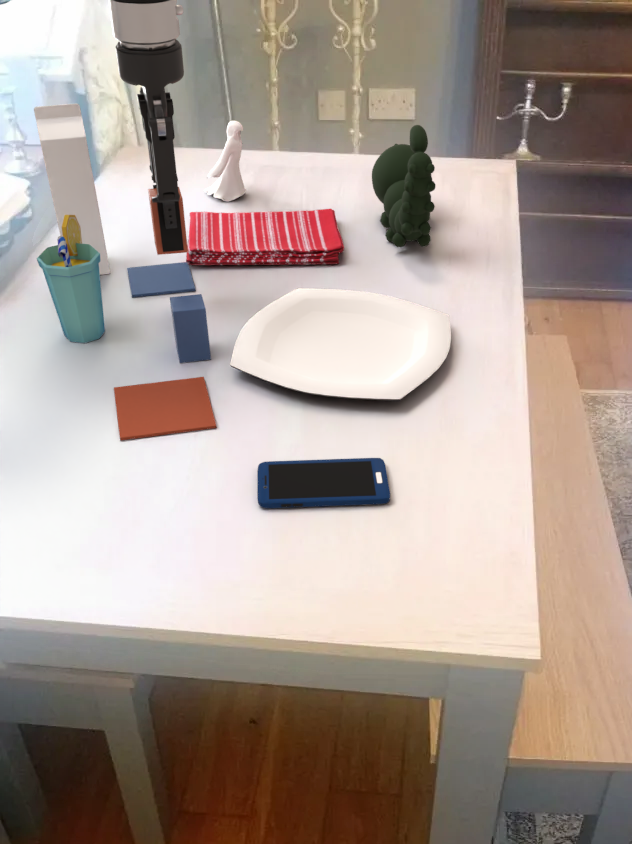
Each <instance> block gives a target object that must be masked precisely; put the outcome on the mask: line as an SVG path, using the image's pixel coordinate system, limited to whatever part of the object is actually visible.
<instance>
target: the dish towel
mask: <svg viewBox="0 0 632 844" xmlns="http://www.w3.org/2000/svg"><path fill="white" fill-rule="evenodd" d="M187 248H188V252H186V255H185V256H186V259H185V262H186V263H187V264H188V265H189V266H225V265H227V266H243V265H245V266H247V265H249V266H252V265H253V266H257V265H262V266H263V265H264V266H268V265H269V266H277V265H278V266H280V265H289V266H290V265H291V266H292V265H301V266H302V265H306V266H308V265H323V266H324V265H339V264H340V257H339V256H340V254H342V253H344V251H345V246H344V240H343V237H342V235H341V232H340V230H339V227H338V221H337V217H336V212H335V210H334V209H332V208H324V209H314V210H289V211H288V210H287V211H285V210H282V211H281V210H280V211H277V210H276V211H272V210H271V211H268V210H267V211H249V212H239V211H237V212H214V211H190V212H189V229H188V236H187Z"/></svg>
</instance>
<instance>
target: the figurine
mask: <svg viewBox="0 0 632 844" xmlns="http://www.w3.org/2000/svg"><path fill="white" fill-rule="evenodd" d="M243 131H244V127H243V124H242V123H241V122H240V121H238V120H230V121H229V122H228V124H227V126H226V138H227V140H226V142H225V145H224V147H223V150H222V153H221V154H220V157H219V159H218V160H217V162H216V163H215V164H214V166H213V167H212V168H211V169H210V171H209V172H208V174H207V176H206V179H210V178H218V179H216V181H215V182H214V183H213V184H212V185H211V186H208V187H206V188H205V189H203V192H204V193H207V194H206V195H207V196H212V195H213V198H214V199H220V200H222V201H223V202H231V201H234V200H236V199H238V198H239V197H242V196H244V194H245V193H246V191H247V189H246V188H245V184H244V181H243V178H242V173H241V168H240V160H241V156H242V150H243V141H242V136H241V133H242V132H243Z"/></svg>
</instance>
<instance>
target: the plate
mask: <svg viewBox="0 0 632 844" xmlns="http://www.w3.org/2000/svg"><path fill="white" fill-rule="evenodd" d="M451 341H452V330H451V319H450V315H449V314H448V313H445V312H443V311H439V310H437V309H434V308H431V307H428V306H425V305H422V304H419V303H415V302H413V301H409V300H407V299H406V300H405V299H402V298H398V297H395V296H391V295H387V294H383V293H382V294H381V293H378V292H369V291H362V290H352V289H351V290H350V289H337V288H314V287H313V288H309V287H307V288H304V287H298V288H295V289H293V290H291V291H289V292H287V293H286V294H284V295H282V296H281V297H279V298H277V299H275V300H274V301H272V302H271V303H268V304H267V305H266V306H264V307H262V309H260V310H258V311H257V312H256V313H255V314H254V315H252V317H250V318H249V319H248V320H247V321H246V323H244V324H243V327H242V328H241V329H240V331H239V334H238V335H237V337H236V340H235V343H234V347H233V350H232V354H231V359H230V363H229V366H230V367H231V368H233V369H236V370H238V371H239V372H242V373H244V374H247V375H250V376H251V377H254V378H257V379H259V380H262V381H264V382H266V383H269V384H272V385H276V386H278V387H282V388H285V389H287V390H291V391H295V392H299V393H303V394H307V395H313V396H314V395H315V396H320V397H328V398H337V399H339V398H340V399H350V400H367V401H401V400H402V399H404V398H405V397H406V396H408V395H409V394H411V393H412V392H413V391H415V390H416V389H417V388H418V387H420V386H422V384H424V383H425V382H426V381H427V380H429V379H430V378H431V377H432V376H433V375H434V374H435V373H436V372H437V371H438V370H439V368H440V367H441V366H442V364H443V363H444V361H446V359H447V357H448V353H449V352H450V348H451Z"/></svg>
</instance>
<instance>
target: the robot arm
mask: <svg viewBox="0 0 632 844" xmlns="http://www.w3.org/2000/svg"><path fill="white" fill-rule="evenodd" d="M11 1H12V0H0V5H5V4H7V3H9V2H11ZM177 3H178V0H108V6H109V13H110V21H111V28H112V35H113V38H114V39H115V40H117V43H116V45H115V54H116V61H117V62H116V63H117V69H118V75H119V78H120V80H122V81H123V82H124V83H126V84H128V85H130V86H131V85H132V86H135V87H137V86H141V87H140V88H139V93H136V100H137V106H138V111H139V114H140V116H141V124H142V129H143V131H144V136H145V139H146V141H147V149H148V158H149V171H150V172H151V176H150V177H151V181H152V182H153V183H152V189H155V188H157V195H156V196H157V197H152V202H153V203H157V208H158V216H159V224H160V232H161V240H162V248H163V252H169V251H181V250H184V246H183V237H182V227H181V218H180V209H179V200H180V194H179V192H178V187H179V183H178V182H179V178H178V173H177V165H176V154H175V146H174V145H175V144H174V140H175V129H174V128H175V127H174V119H173V116H174V114H175V112H174V111H175V108H174V101H173V98H172V96H171V92H168V91H167V92H166V88H165V87H166V86H168V85H171V84H172V85H173V84H176V83H178V82H179V81H181V80H182V79H183V78H184V75H185V68H184V59H183V58H184V57H183V45H182V44H181V43H180V41H179V40H178V38H179V36H180V35H181V31H180V30H181V29H180V21H179V18H178V17H177V16H182V15H183V14H184V7H183V5H182V4H177Z"/></svg>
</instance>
